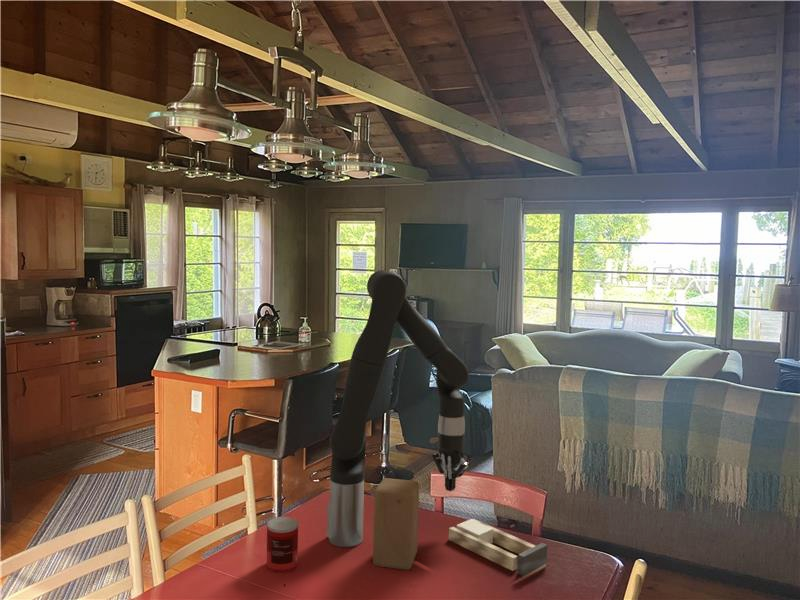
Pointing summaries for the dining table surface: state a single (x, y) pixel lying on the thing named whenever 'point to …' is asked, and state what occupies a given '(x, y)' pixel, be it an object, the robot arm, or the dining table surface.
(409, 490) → the wooden block
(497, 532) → the birch chute
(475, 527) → the off-white block
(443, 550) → the dining table surface
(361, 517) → the robot arm
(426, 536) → the dining table surface
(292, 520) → the canned food
